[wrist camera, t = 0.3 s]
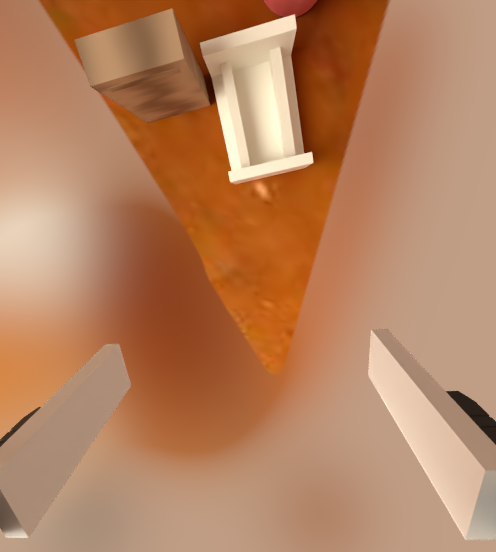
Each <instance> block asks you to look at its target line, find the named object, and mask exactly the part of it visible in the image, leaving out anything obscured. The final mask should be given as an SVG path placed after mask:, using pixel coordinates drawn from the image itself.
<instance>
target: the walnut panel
mask: <svg viewBox="0 0 496 552" xmlns="http://www.w3.org/2000/svg"><path fill="white" fill-rule="evenodd" d="M75 43H76V46H77V49H78V52H79V55H80V58H81V60H82V63H83V66H84V69H85V72H86V75H87V78H88V81H89V84H90V86H91V87H92V88H94V89H95V90H97V91H98V92H100V93H101V94H103V95H105V96H106V97H108V98H109V99H111V100H112V101H114V102H116V103H117V104H119V105H120V106H122V107H123V108H125V109H127V110H128V111H130V112H131V113H133V114H134V115H136V116H138V117H139V118H141V119H142V120H144V121H145V122H147V123H148V122H152V121H155V120H159V119H163V118H167V117H170V116H174V115H178V114H181V113H185V112H189V111H192V110H196V109H200V108H204V107H207V106H211V105H210V101H209V96H208V92H207V87H206V83H205V78H204V74H203V72H202V70H201V68H200V66H199V64H198V62H197V60H196V57H195V55H194V53H193V51H192V49H191V47H190V45H189V43H188V41H187V39H186V36H185V34H184V32H183V30H182V28H181V26H180V24H179V22H178V20H177V17H176V15H175V13H174V11H173V9H169V10H166V11H163V12H160V13H157V14H153V15H150V16H147V17H144V18H141V19H138V20H135V21H132V22H128V23H125V24H122V25H119V26H116V27H113V28H110V29H107V30H104V31H100V32H97V33H94V34H91V35H88V36H85V37H82V38H79V39H75Z"/></svg>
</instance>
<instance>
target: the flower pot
mask: <svg viewBox="0 0 496 552" xmlns="http://www.w3.org/2000/svg"><path fill="white" fill-rule="evenodd" d="M263 1H264V2H265V4H266V5H267V7H268V8H269V9H270V10H271V11H272V12H273V13H275V14H277V15H279V16H282V17H287V16H291V15H294V14H295V17H298V16H300V15H302V14H304V13H306V12H307V11H308V10H310V9H311V8H312V7H313V5H314V4H315V3H316V1H317V0H263Z"/></svg>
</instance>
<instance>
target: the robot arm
mask: <svg viewBox="0 0 496 552" xmlns="http://www.w3.org/2000/svg"><path fill="white" fill-rule="evenodd" d="M368 376H369V378H370V379H371V381H372V383H373V384H374V386H375V388H376V389H377V391H378V393H379V395H380V396H381V398H382V400H383V401H384V403H385V405H386V406H387V408H388V410H389V411H390V413H391V415H392V416H393V418H394V420H395V422H396V423H397V425H398V427H399V428H400V430H401V432H402V433H403V435H404V437H405V439H406V440H407V442H408V444H409V445H410V447H411V449H412V450H413V452H414V454H415V455H416V457H417V459H418V461H419V462H420V464H421V466H422V467H423V469H424V471H425V472H426V474H427V476H428V477H429V479H430V481H431V482H432V484H433V486H434V488H435V489H436V491H437V493H438V494H439V496H440V498H441V499H442V501H443V503H444V505H445V506H446V508H447V510H448V511H449V512H450V515H451V516H452V518H453V520H454V521H455V523H456V525H457V527H458V528H459V530H460V532H461V533H462V535H463V537H464V538H465V540H495V537H496V421H495V420H494V419H493V418H490V417H489V415H488V414H487V413H486V412H485V411H484V410H483V409H482V408H481V407H480V406H479V405H478V404H477V403H476V402H475V401H473V400H472V399H470V398H469V397H467V396H465V395H464V394H462V393H460V392H459V391H445V390H444V389H443V388H442V387H441V386H440V385H439V384H438V383H437V382H436V381H435V380H434V378H432V376H431V375H430V374H429V373H428V372H427V371H426V370H425V369H424V368H423V367H422V366H421V365H420V363H418V361H417V360H416V359H415V358H414V357H413V356H412V355H411V354H410V353H409V352H408V351H407V350H406V349H405V347H404V346H403V345H402V344H401V343H400V342H399V341H398V340H397V339H396V338H395V337H394V336H393V335H392V333H391V332H390V331H389V330H388V329H379V330H371V343H370V357H369V371H368ZM130 386H131V383H130V380H129V377H128V373H127V370H126V367H125V363H124V359H123V356H122V353H121V349H120V346H119V344H105V345H104V346H103V347H102V348H101V349H100V350H99V351H98V352H97V353H96V354H95V355H94V356H93V357H92V358H91V359H90V360H89V361H88V362H87V363H86V364H85V365H84V366H83V367H82V368H81V369H80V370H79V371H78V372H77V373H76V374H75V375H73V376H72V377H71V379H69V380H68V381H67V382H66V383H65V384H64V385H63V386H62V387H61V388H60V389H59V390H58V391H57V392H56V393H55V394H54V395H53V396H52V397H51V398H50V399H49V400H48V401H47V402H46V403H45V404H44V405H43V406H42V407H39V408H37V409H35V410H34V411H32V412H31V413H30V414H28V415H27V416H25V417H24V418H23V419H22V420H20V422H18V423H17V424H16V425H15V426H14V427H13V428H12V429H11V431H10V432H8V433H7V434H6V435H5V436H4V437H3V438H2V439H0V528H1V530H2V531H3V533H4V534H5V536H6V538H29V537H30V535H31V534H32V532H33V531H34V529H35V528H36V526H37V525H38V523H39V522H40V520H41V519H42V517H43V516H44V514H45V513H46V511H47V510H48V508H49V507H50V505H51V504H52V502H53V501H54V499H55V498H56V497H57V495H58V493H59V492H60V491H61V489H62V488H63V486H64V485H65V483H66V482H67V480H68V479H69V477H70V476H71V474H72V473H73V471H74V470H75V468H76V467H77V465H78V464H79V462H80V461H81V459H82V458H83V456H84V455H85V453H86V452H87V450H88V449H89V447H90V446H91V444H92V443H93V441H94V440H95V438H96V437H97V435H98V434H99V432H100V431H101V429H102V428H103V426H104V425H105V423H106V422H107V420H108V419H109V417H110V416H111V415H112V413H113V412H114V410H115V408H116V407H117V405H118V404H119V403H120V401H121V399H122V398H123V397H124V395H125V394H126V392H127V390H128V389H129V388H130Z"/></svg>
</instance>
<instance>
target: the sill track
mask: <svg viewBox="0 0 496 552" xmlns="http://www.w3.org/2000/svg"><path fill="white" fill-rule="evenodd" d="M296 30H297V27H296V19H295V14H294V15H291V16H287V17H284V18H281V19H277V20H274V21H271V22H267V23H264V24H261V25H257V26H254V27H251V28H248V29H244V30H241V31H238V32H234V33H231V34H228V35H224V36H221V37H218V38H214V39H211V40H208V41H204V42H201V43H200V47H201V51H202V56H203V58H204V61H205V63H206V66H207V68H208V70H209V73H210V75H211V78H212V82H213V87H214V91H215V96H216V101H217V105H218V110H219V115H220V119H221V124H222V128H223V133H224V138H225V142H226V147H227V152H228V156H229V161H230V165H231V170H232V171H229V172H228V173H229V178H230V182H231V183H233V184H239V183H243V182H247V181H252V180H256V179H260V178H264V177H269V176H273V175H277V174H282V173H286V172H290V171H295V170H299V169H303V168H306V167H307V166H309V165H311V164H312V163H313V155H312V152H309V153H305V154H304V149H303V141H302V134H301V126H300V119H299V111H298V104H297V96H296V89H295V81H294V74H293V66H292V59H291V53H292V48H293V44H294V39H295V34H296Z"/></svg>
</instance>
